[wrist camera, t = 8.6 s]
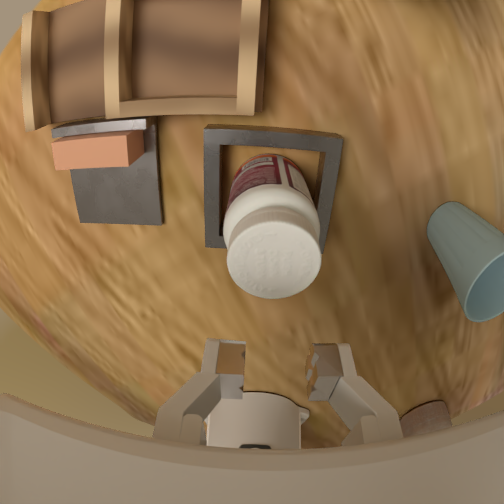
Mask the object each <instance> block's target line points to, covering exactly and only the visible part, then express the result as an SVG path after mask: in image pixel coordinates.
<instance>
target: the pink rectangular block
mask: <svg viewBox="0 0 504 504" xmlns="http://www.w3.org/2000/svg"><path fill="white" fill-rule="evenodd" d="M52 151H53V157H54V164H55V170H68V169H83V168H102V167H129V166H130V165H131V164H132V163H134V162H135V161H136V160H137V159H138V158H140V157H141V156H142V155H143V154H144V137H143V129H139V130H123V131H110V132H99V133H89V134H80V135H72V136H64V137H62V138H60V139H58V140H56V141H54V142H52Z"/></svg>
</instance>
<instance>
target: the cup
mask: <svg viewBox="0 0 504 504" xmlns="http://www.w3.org/2000/svg"><path fill="white" fill-rule="evenodd" d="M427 237H428V239H429V241H430V243H431V245H432V247H433V249H434V250H435V252H436V254H437V256H438V258H439V260H440V262H441V264H442V266H443V268H444V270H445V271H446V273H447V275H448V277H449V280H450V282H451V284H452V286H453V288H454V290H455V292H456V294H457V297H458V300H459V302H460V304H461V306H462V309H463V311H464V313H465V315H466V317H467V318H468V319H469V320H471V321H473V322H484V321H487V320H490V319H492V318H494V317H496V316H498V315H500V314H501V313H502V312H504V234H503V233H502V232H501V231H499V230H498V229H497V228H495V227H494V226H492V225H491V224H490V223H488V222H487V221H485V220H484V219H483V218H481V217H480V216H478V215H477V214H475V213H474V212H473V211H471V210H470V209H468V208H467V207H465V206H464V205H462V204H460V203H459V202H447V203H445V204H443V205H441V206H440V207H438V208H437V209H436V210H435V212H434V213H433V214H432V216H431V217H430V220H429V222H428V225H427Z"/></svg>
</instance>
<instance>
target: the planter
mask: <svg viewBox="0 0 504 504" xmlns="http://www.w3.org/2000/svg"><path fill="white" fill-rule="evenodd" d="M400 425H401V429H402V434H403V438H405V437H411V436H415V435H420V434H425V433H429V432H433V431H437V430H441V429H445V428H449V427H453V426H452V423H451V420H450V416H449V413H448V410H447V407H446V404H445V403H444V402H443V401H431V402H427V403H424V404H422V405H419V406H417V407H415V408H413V409H412V410H410V411H408V412H407V413H406V414H405V415H404V416H403V417H402V418H401V420H400Z"/></svg>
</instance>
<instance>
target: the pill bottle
mask: <svg viewBox="0 0 504 504" xmlns="http://www.w3.org/2000/svg"><path fill="white" fill-rule="evenodd" d="M223 236H224V241H225V244H226V247H227V249H228V253H227V266H228V270H229V273H230V275H231V277H232V279H233V280H234V281H235V283H236V284H237V285H238V286H239V287H240V288H242V289H243V290H244V291H246V292H248V293H250V294H252V295H254V296H257V297H261V298H267V299H279V298H285V297H289V296H292V295H295V294H297V293H299V292H301V291H302V290H304V289H305V288H307V287H308V286H309V285H310V284H311V283H312V282H313V280H314V279H315V278H316V276H317V274H318V272H319V270H320V267H321V250H320V246H319V236H320V223H319V218H318V214H317V211H316V209H315V206H314V203H313V201H312V198H311V196H310V193H309V190H308V188H307V185H306V182H305V180H304V177H303V175H302V173H301V172H300V170H299V168H298V167H297V166H296V165H295V164H294V163H293V162H292V161H290V160H289V159H287V158H285V157H283V156H280V155H275V154H261V155H257V156H255V157H252V158H250V159H249V160H247V161H246V162H245V163H243V164H242V165H241V167H240V168H239V169H238V170H237V172H236V174H235V176H234V179H233V182H232V186H231V191H230V196H229V201H228V206H227V210H226V213H225V219H224V225H223Z"/></svg>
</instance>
